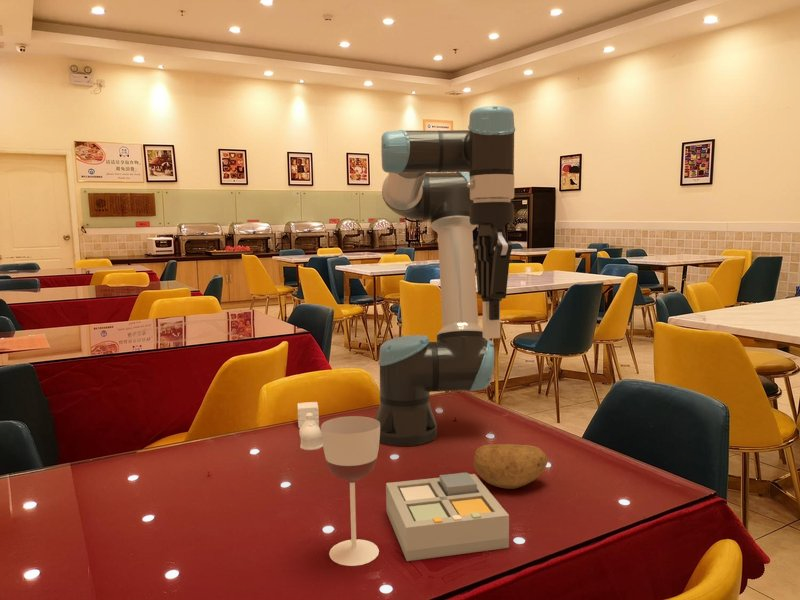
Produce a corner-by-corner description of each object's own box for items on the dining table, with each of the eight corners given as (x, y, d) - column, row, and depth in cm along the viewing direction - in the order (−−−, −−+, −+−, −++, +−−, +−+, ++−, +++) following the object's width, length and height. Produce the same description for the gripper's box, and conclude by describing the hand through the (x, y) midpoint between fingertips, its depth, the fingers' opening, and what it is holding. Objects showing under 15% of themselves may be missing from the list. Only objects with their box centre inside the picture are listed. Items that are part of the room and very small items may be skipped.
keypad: (386, 511, 104) (385, 481, 103) (474, 501, 107) (474, 472, 107) (406, 561, 89) (406, 525, 88) (508, 547, 92) (509, 513, 91)
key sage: (409, 522, 96) (408, 506, 95) (439, 518, 97) (439, 503, 96) (416, 537, 91) (416, 521, 90) (448, 533, 92) (448, 517, 91)
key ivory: (400, 502, 102) (399, 488, 102) (428, 499, 103) (428, 485, 103) (406, 516, 97) (406, 501, 97) (436, 512, 98) (436, 497, 98)
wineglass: (326, 540, 95) (322, 417, 93) (381, 537, 96) (378, 415, 93) (324, 568, 87) (319, 435, 85) (384, 564, 88) (381, 432, 85)
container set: (297, 423, 153) (296, 402, 152) (318, 422, 154) (317, 401, 154) (300, 451, 134) (299, 428, 133) (324, 449, 135) (323, 426, 134)
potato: (554, 495, 109) (555, 453, 108) (477, 498, 109) (477, 455, 108) (539, 473, 119) (540, 434, 118) (469, 476, 119) (469, 437, 118)
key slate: (439, 489, 104) (439, 475, 103) (467, 486, 105) (467, 472, 104) (447, 502, 99) (447, 487, 98) (476, 499, 100) (476, 484, 99)
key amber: (451, 517, 97) (451, 501, 97) (480, 513, 98) (480, 498, 98) (460, 532, 92) (460, 516, 92) (491, 528, 93) (491, 512, 93)
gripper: (458, 203, 108) (459, 332, 111) (483, 199, 96) (483, 345, 99) (498, 203, 110) (498, 330, 113) (527, 199, 97) (526, 343, 100)
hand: (491, 337), depth 106 cm, fingers closed
